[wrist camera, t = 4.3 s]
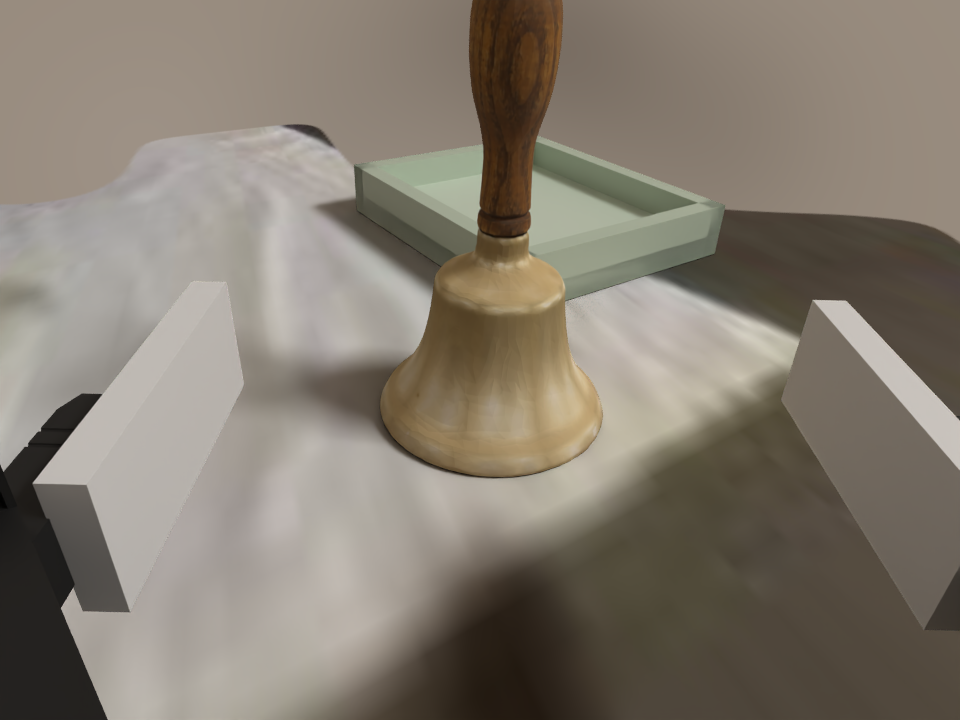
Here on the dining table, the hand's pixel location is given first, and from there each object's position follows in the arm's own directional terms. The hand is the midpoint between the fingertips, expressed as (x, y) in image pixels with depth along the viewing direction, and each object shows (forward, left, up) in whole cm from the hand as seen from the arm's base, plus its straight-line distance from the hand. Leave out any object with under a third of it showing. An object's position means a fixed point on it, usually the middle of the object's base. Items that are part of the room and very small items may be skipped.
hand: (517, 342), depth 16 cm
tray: (-20, +16, -7) cm, 26 cm away
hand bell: (-7, +4, -8) cm, 11 cm away
